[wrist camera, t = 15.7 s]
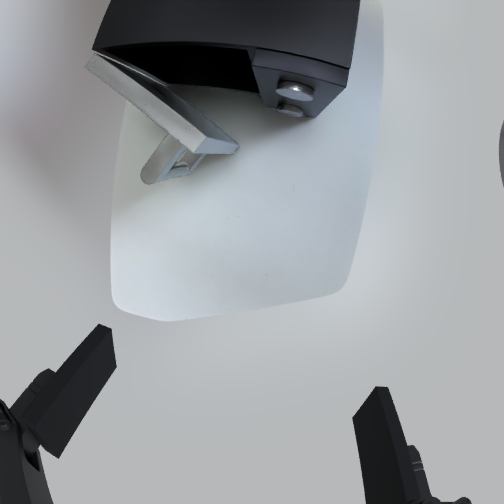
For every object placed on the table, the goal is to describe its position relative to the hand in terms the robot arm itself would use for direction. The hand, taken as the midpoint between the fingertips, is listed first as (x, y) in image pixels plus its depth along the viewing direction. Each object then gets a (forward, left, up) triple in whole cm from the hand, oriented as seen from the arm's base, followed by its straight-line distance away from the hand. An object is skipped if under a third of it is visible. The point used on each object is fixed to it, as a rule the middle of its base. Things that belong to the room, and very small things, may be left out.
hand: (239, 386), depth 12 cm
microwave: (+8, -27, -29) cm, 40 cm away
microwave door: (+14, -11, -29) cm, 34 cm away
